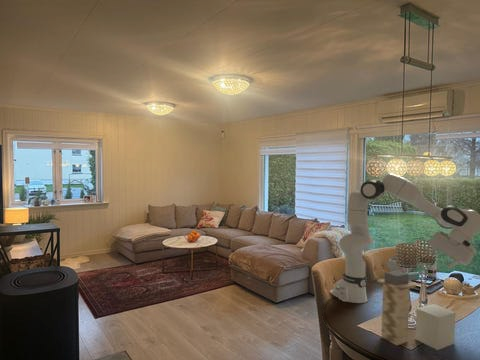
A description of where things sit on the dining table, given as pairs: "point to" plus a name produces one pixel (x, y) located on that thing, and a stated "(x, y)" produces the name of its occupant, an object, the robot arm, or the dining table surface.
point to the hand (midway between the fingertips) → (439, 261)
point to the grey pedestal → (435, 326)
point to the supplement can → (432, 270)
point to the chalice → (393, 265)
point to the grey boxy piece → (400, 277)
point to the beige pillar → (395, 311)
